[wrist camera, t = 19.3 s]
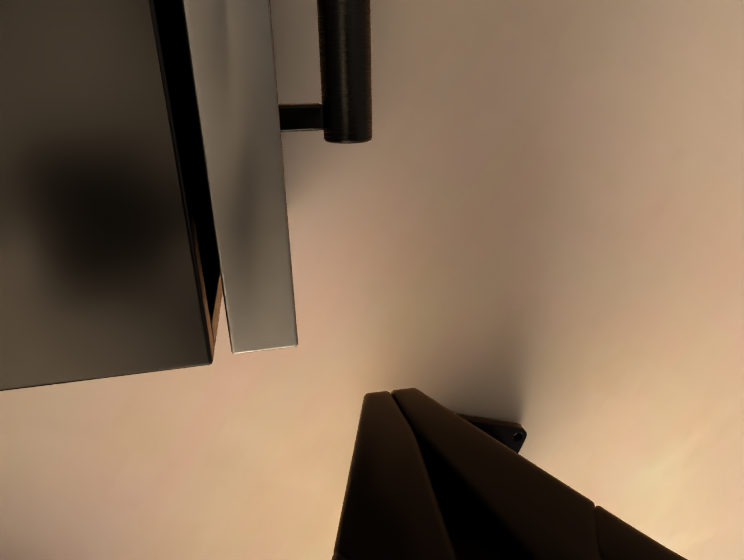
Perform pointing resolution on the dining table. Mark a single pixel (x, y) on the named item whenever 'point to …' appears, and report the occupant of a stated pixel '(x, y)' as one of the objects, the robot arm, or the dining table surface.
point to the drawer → (257, 141)
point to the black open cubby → (96, 200)
